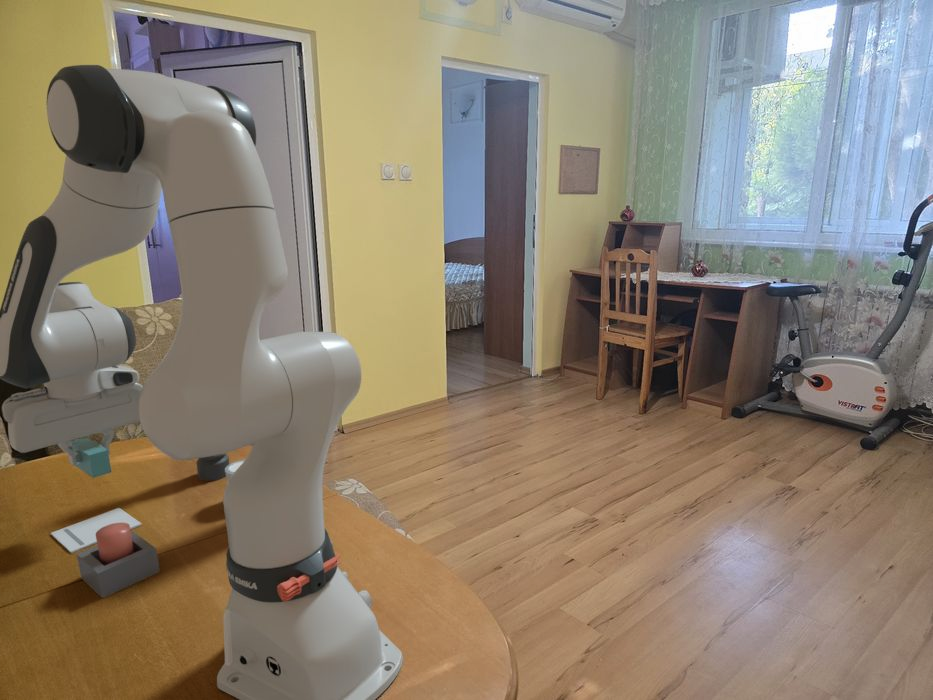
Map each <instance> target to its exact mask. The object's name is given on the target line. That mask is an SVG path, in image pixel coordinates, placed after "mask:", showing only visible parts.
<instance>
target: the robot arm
mask: <svg viewBox="0 0 933 700" xmlns="http://www.w3.org/2000/svg"><path fill="white" fill-rule="evenodd" d="M46 115H47V122H48V125H49V129H50V133H51V136H52V137H53V140H54V143H55V145H57V147H58V148H59V150H60V151H62V152H63V153H64V154H65V159H64V164H63V173H62V174H63V175H62V183H61V185H60V188H59V191H58V193H57V195H56V196H55V197H54V199H53V202H52V203H51V204H50V206H48V207H47V209H46V210H45V211H44V212H43V213H42V214H41V215H39V216H38V217H36V218H35V219H33V220H31V221H30V222H29V223H28V224H27V226H26V228H25V230H24V232H23V235H22V237H21V239H20V242H19V245H18V249H17V252H16V255H15V258H14V260H13V264H12V269H11V271H10V275H9V278H8V282H7V285H6V288H5V292H4V295H3V298H2V303H1V306H0V380H2V381H3V382H6V383H8V384H11V385H13V386H16V387H20V388H22V389H29V388H33V387H37V386H40V385H43V387H40V388H35V389H32V390H29V391H25V392H16V393H12V394H11V395H10V396H9V397H8V398H7V399H5V400H4V401H3V403H2V405H1V412H2V416H3V419H4V421H5V422H7V429H8V430H7V432H8V440H9V444H10V447H11V448H12V449H14V450H15V451H17V452H19V453H22V454H25V453H29V452H32V451H36V450H41V449H43V448H47V447H50V446H54V445H57V447H59V448H60V449H61V450H62V451H63V452H64V453H66V454H67V456H68V462H69V464H70V465H72V466H75V465H76V464H79V463H82V462H83V459H81V458H82V454H81V453H80V452H79V451H75V452H73V451H72V450H71V449H70V446H72V442H73V440H76V439H80V438H85V437H86V436H90V435H94V434H98V433H100V434H102V435H103V436H102V439H101V441H100V443H98V444H99V445H100V446H102V447H104V448H105V449H107V450H108V454H109V455H110V454H111V450H110V444H111V443H112V441H113V438H114V436H115V430H114V429H117V428H121V427H123V426H128V425H131V424H134V423H139V422H140V425H141V428H142V430H143V433H144V434H145V436H146V438H147V440H149V442H150V443H151V444H152V445H153V446H154V447H155V448H156V449H157V450H158V451H160V453H163V455H165V456H168V457H169V458H170V459H173V460H176V461H187V460H193V459H198V458H203V457H209V456H215V455H221V454H226V455H227V454H228V453H231V452H235V451H236V450H239V449H242V448H245V447H248V446H250V445H252V447H251V449H250V450H251V451H250V452H249V454H248V455H247V457H246V458H245V459H246V460H245V459H244V460H245V461H244V462H243V463H242V465H241V466H240V467H239V468H238V469H237V470H236V471H235V472H234V474H233V475H232V476H231V478H230V479H229V481H228V482H227V483H226V485H225V488H224V492H223V493H224V494H223V499H222V500H223V510H224V519H225V525H226V532H227V533H226V534H227V542H228V547H227V549H226V562H225V567H226V573H227V575H228V582H229V585H230V586H231V591H230V595H229V598H228V600H227V604H226V608H225V610H224V611H223V612H224V613H223V615H222V617H223V644H224V645H223V649H224V663H223V665H222V666H221V668H220V669H219V671H218V673H217V676H216V686H217V689H219V690H220V691H222V692H224V693H227V694H228V695H230V696H232V697H234V698H236V699H238V700H376V699H377V698H378V697H380V696H381V695H382V694H383V693H384V692H385V691H386V689H388V688H389V686H390V685H391V684H392V682H394V681H395V679H396V677H397V675H398V674H399V673H400V670H401V668H402V665H403V662H404V658H403V653H402V651H401V650H400V649H399V648H398V647H397V646H396V645H395V644H394V643H393V642H392V641H391V640H390V639H389V638H388V637H387V636H386V635H385V634H384V633H383V632H382V631H381V630H380V628H379V623H378V620H377V618H376V615H375V614H374V612H373V611H372V609H371V607H372V606H373V600H372V596H371V594H370V593H369V592H368V591H367V590H366V589H365V590H364V589H363V590H361V591H359V592H358V590H356V588H355V587H354V586H353V585H352V583H351V582H350V581H349V576H348V573H347V572H346V571H341V569H340V567H338V566H339V565H340V564H341V562H342V561H341V560H339V559H340V558H342V557H341V554H337V555H336V554H335V550H334V544H333V542H332V540H331V538H330V535H329V533H328V531H327V529H326V528H325V516H324V515H325V514H324V498H323V497H324V491H323V490H324V488H323V487H324V486H323V483H324V482H323V481H324V470H325V465H326V460H327V456H328V452H329V448H330V445H331V443H332V439H333V437H334V433H335V431H336V429H337V426H338V425H339V422H340V420H341V418H342V416H343V414H344V412H346V410H347V408H348V407H349V406H350V404H351V403H352V402H353V400H354V399H355V398H356V396H357V395H358V393H359V391H360V389H361V383H362V366H361V362H360V359H359V358H360V357H359V356H358V354H357V352H356V350H355V348H354V347H353V346H352V344H351V343H350V342H349V341H348V340H347V339H346V338H345V337H344V336H342V335H340V334H338V333H335V332H332V331H331V332H329V331H296V332H292V333H287V334H283V335H277V336H273V337H269V338H268V337H267V338H264V339H261V338H260V324H261V318H262V315H263V313H264V311H265V308H266V306H267V305H268V304H269V303H271V302H272V301H273V300H275V299H276V298H277V297H278V296H279V295H280V293H281V292H282V291H283V290H284V288H285V286H286V284H287V281H288V276H289V268H288V263H287V260H286V255H285V250H284V244H283V241H282V240H283V239H282V235H281V232H280V227H279V222H278V217H277V213H276V208H275V205H274V199H273V195H272V191H271V188H270V185H269V181H268V178H267V175H266V172H265V169H264V165H263V163H262V161H261V158H260V155H259V153H258V151H257V148H256V144H257V129H256V124H255V120H254V117H253V114H252V112H251V110H250V108H249V106H248V105H247V103H246V102H245V101H244V100H243V99H242V98H241V97H240V96H238V95H236V94H234V93H233V92H230V91H228V90H226V89H224V88H220V87H217V86H214V85H207V86H205V85H202V84H199V83H196V82H192V81H189V80H183V79H180V78H177V77H171V76H166V75H164V74H162V73H158V72H153V71H152V72H151V71H143V70H136V69H135V70H134V69H123V68H122V69H121V68H105V67H104V66H102V65H99V64H76V65H75V64H74V65H69V66H64V67H62V68H60V69H59V70H58V71H57V73H56V74H55V75H54V76H53V78H52V79H51V80H50V83H49V85H48V88H47V93H46ZM161 194H162V195H163V202H164V207H165V212H166V217H167V222H168V226H169V230H170V234H171V239H172V240H171V241H172V243H173V249H174V254H175V258H176V264H177V268H178V269H177V270H178V276H179V281H180V290H181V308H180V309H181V310H180V316H179V321H178V325H177V329H176V331H175V335H174V338H173V340H172V342H171V345H170V347H169V348H168V350H167V351H166V354H165V356H164V357H163V358H162V360H161V361H160V362H159V364H158V365H156V367H155V368H154V369H153V371H151V373H150V374H149V375H148V376H147V378H146V379H145V381H144V384H143V385H142V384H140V383H138V382H139V381H140V374H139V373H140V372H138V370H135V369H133V368H131V367H128V366H123V365H121V364H123V363H124V364H125V363H126V362H127V361H128V360H129V359H130V357H132V355H133V353H134V351H135V349H136V346H137V337H136V331H135V327H134V323H133V321H132V319H131V317H130V316H129V315H127V314H126V313H124V312H123V311H122V310H120V309H118V308H117V307H114V306H108V305H106V304H104V303H102V302H101V301H100V300H98V299H96V298H95V297H94V295H93V294H92V291H91V289H90V287H89V286H88V284H86V283H83V282H79V281H68V282H67V281H66V282H62V281H63V280H64V279H65V278H66V277H67V276H69V275H71V274H72V273H74V272H76V271H77V270H81V268H83V267H86V266H87V265H91V264H93V263H96V262H98V261H101V260H103V259H106V258H109V257H110V258H111V257H114V256H116V255H119V254H122V253H125V252H128V251H130V250H132V249H133V248H135V247H136V246H138V245H140V244H141V243H142V242H144V241H145V239H147V237H148V236H149V235H150V233H151V231H152V229H153V228H154V225H155V223H156V220H157V217H158V213H159V209H160V208H159V207H160V202H161V197H162V196H161ZM338 560H339V561H338Z"/></svg>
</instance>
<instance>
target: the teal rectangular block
mask: <svg viewBox="0 0 933 700" xmlns="http://www.w3.org/2000/svg"><path fill="white" fill-rule="evenodd" d="M71 442H72V446H70V447H69V448H70V449H71V450H72V451H73V452H75V451H79V452H80V453H81V454H82V458H81V459H83V462H82V463H79V464H76V465H74V466H75V467H76V468H78V469H79V470H81V471H82V472H83V473H85V474H87V475H88V476H90V477H91V478H92V479H95V478H98V477H102V476H103V475H104V476H105V475H107V474H110V473H112V466H111V461H110V456H109V455H110V454H108V450H107V449H105V448H104V447H102V446H100V445H99V444H100V443H96V442H95V441H93V440H91V439H90V438H88V437H83V438H81V439H80V438H79V439H78V440H74V441H73V440H72V441H71Z"/></svg>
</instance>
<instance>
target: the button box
mask: <svg viewBox="0 0 933 700" xmlns="http://www.w3.org/2000/svg"><path fill="white" fill-rule="evenodd" d="M131 537H132V543H133V549H134V553H133V554H131V555H129V556H126V557H124V558H122V559H119V560H117V561H115V562H112V563H110V564H108V565H105V566H104V565H103V564H101V561H100V556H99V550H98V545H95V546H93V547H91V548H88V549H86V550H83V551H81V552H79V553H76V556H77V557H76V558H77V562H78V567H79V573H80V578H81V579H82V580H83V581H84V582H85V583H86V584H87V585H88V586H89V587H90V588H91V589H92V590H93V589H94V590H95V591H94V592H95V593H96V594H98V595H99V596H100V598H101V599H104V598H107V597H108V595H109V596H111V595H113V594H115V593H117V592H119V591H121V590H123V589H125V588H128V587H129V586H132V585H134V584H136V582H137V583H139V582H140V581H143V580H145V579H147V578H149V577H152V576H153V575H156V574H158V573H160V565H159V559H158V554H157V547H155V546H153V545H152V544H151V543H149V542H148V541H147V540H146V539H144V538H143V537H141V536H140V535H139V534H137V533H136V532H135V531H131ZM151 575H152V576H151ZM144 578H145V579H144ZM112 593H113V594H112ZM106 596H107V597H106Z"/></svg>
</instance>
